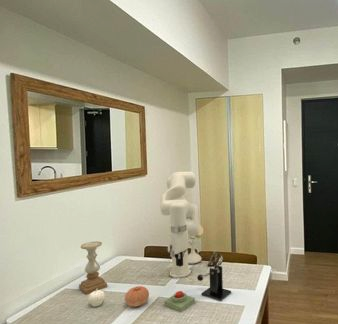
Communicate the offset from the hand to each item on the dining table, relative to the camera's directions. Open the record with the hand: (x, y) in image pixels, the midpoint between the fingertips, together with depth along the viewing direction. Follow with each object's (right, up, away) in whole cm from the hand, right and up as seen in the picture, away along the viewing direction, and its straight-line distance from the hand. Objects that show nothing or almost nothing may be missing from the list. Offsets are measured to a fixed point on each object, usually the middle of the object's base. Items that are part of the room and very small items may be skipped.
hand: (179, 265), depth 134 cm
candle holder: (-51, -18, +17) cm, 57 cm away
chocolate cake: (+13, -16, +45) cm, 50 cm away
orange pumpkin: (-20, -18, -1) cm, 27 cm away
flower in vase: (-2, -16, +50) cm, 52 cm away
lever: (+13, -9, +9) cm, 18 cm away
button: (0, -14, -2) cm, 14 cm away
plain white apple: (-40, -19, -1) cm, 44 cm away
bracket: (+17, -17, +6) cm, 25 cm away
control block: (0, -18, -2) cm, 18 cm away
